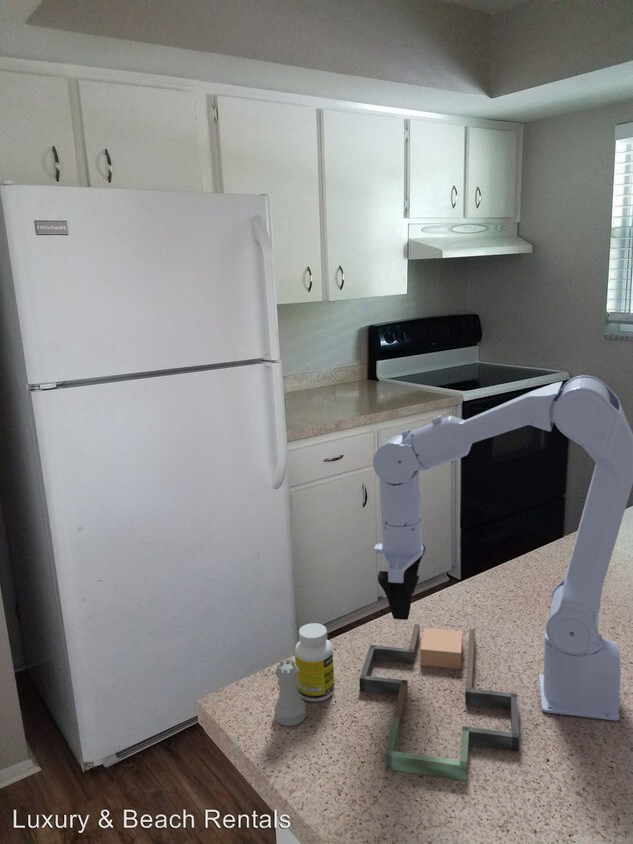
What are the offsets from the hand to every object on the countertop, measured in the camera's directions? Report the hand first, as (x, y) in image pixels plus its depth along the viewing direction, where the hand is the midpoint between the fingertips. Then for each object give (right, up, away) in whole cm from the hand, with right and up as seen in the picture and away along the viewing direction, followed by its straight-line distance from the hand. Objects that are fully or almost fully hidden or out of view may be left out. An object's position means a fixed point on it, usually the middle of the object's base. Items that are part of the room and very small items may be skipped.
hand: (404, 604), depth 96 cm
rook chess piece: (-17, -13, -8) cm, 23 cm away
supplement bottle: (-13, -12, -3) cm, 18 cm away
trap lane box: (+4, -11, -4) cm, 13 cm away
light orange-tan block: (+6, -9, +4) cm, 12 cm away
